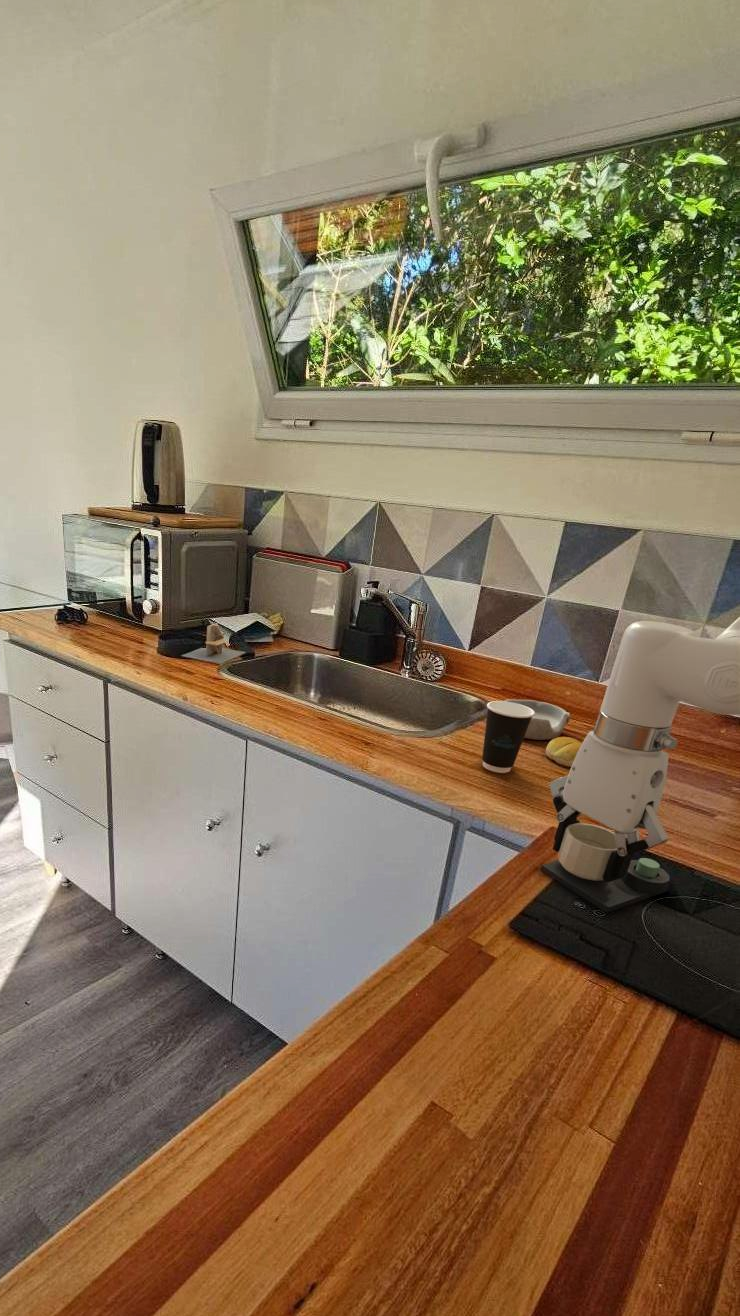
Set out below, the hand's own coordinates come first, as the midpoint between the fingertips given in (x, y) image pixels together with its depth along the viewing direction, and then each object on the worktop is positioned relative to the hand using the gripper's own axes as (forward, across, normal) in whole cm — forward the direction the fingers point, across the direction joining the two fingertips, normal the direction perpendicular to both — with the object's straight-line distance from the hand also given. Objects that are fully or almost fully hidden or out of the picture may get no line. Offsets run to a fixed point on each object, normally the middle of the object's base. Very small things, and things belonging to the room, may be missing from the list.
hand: (586, 862), depth 84 cm
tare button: (0, -5, -6) cm, 7 cm away
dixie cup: (+3, +31, -17) cm, 36 cm away
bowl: (+1, 0, 0) cm, 1 cm away
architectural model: (+3, +113, +1) cm, 113 cm away
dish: (+3, +44, -39) cm, 59 cm away
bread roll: (+3, +29, -34) cm, 45 cm away
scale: (+2, -2, -2) cm, 3 cm away
